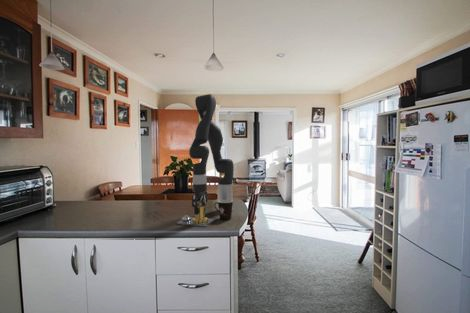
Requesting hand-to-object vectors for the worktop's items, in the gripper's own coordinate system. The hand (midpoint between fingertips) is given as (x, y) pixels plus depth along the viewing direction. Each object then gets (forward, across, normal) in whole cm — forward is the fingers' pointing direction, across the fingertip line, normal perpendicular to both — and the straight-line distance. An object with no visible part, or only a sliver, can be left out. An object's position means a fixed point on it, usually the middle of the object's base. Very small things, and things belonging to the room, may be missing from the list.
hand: (200, 212), depth 150 cm
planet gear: (+5, 0, 0) cm, 5 cm away
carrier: (+6, 0, -2) cm, 6 cm away
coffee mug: (+6, -13, +9) cm, 17 cm away
